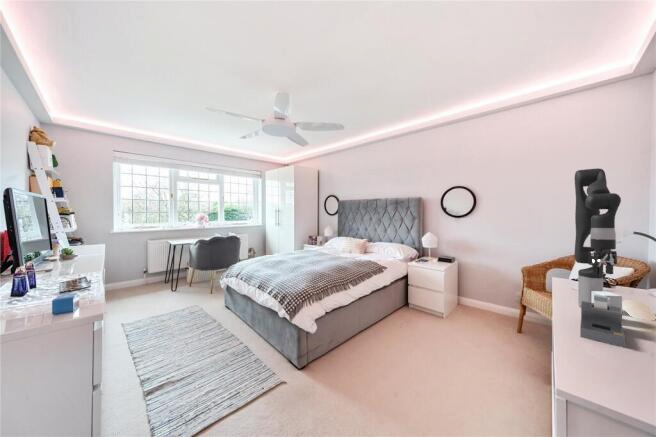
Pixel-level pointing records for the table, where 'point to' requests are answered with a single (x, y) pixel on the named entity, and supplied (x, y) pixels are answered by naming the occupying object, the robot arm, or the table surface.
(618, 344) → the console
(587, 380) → the table surface
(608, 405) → the table surface
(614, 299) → the supplement box
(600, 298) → the plug
